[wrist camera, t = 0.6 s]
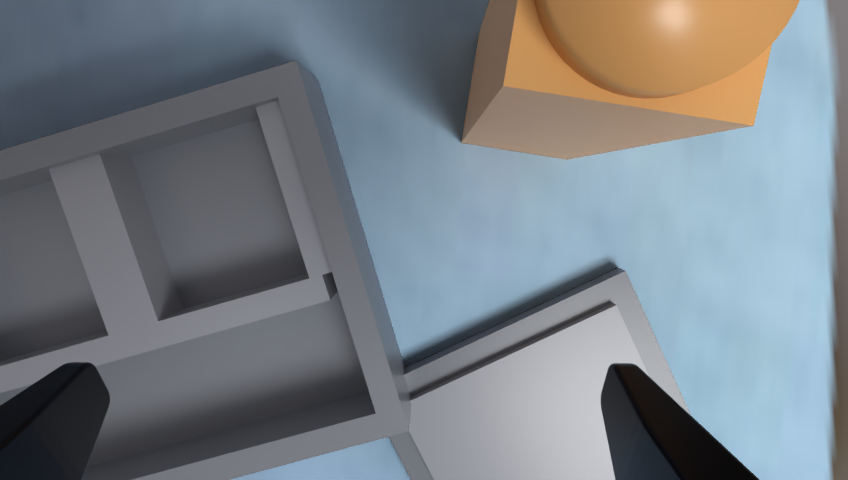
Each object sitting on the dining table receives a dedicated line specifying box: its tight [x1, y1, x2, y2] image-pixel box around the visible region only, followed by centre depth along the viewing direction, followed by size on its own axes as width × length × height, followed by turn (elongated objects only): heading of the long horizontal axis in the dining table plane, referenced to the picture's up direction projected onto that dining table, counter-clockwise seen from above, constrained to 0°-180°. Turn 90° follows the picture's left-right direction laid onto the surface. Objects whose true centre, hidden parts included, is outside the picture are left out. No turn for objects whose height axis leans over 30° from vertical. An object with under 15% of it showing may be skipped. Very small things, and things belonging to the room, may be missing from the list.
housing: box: [0, 61, 411, 480], centre depth 21 cm, size 14×18×4 cm
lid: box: [389, 268, 691, 480], centre depth 22 cm, size 10×12×1 cm
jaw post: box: [461, 0, 799, 160], centre depth 15 cm, size 4×4×13 cm
